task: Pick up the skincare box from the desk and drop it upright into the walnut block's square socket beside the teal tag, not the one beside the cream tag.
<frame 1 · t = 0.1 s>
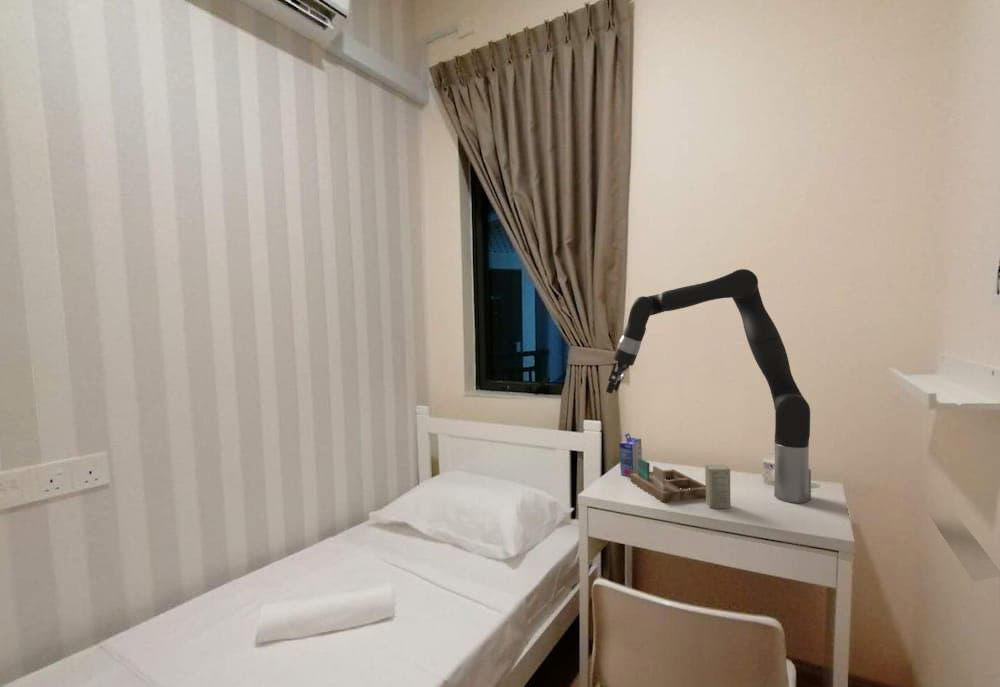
hand: (611, 391, 178), 31 cm above the table, tool tilted 20°, fingers open, 8 cm apart
skincare box: (717, 506, 149), on the table
ink cartridge box: (631, 473, 183), on the table
socket block: (676, 488, 165), on the table
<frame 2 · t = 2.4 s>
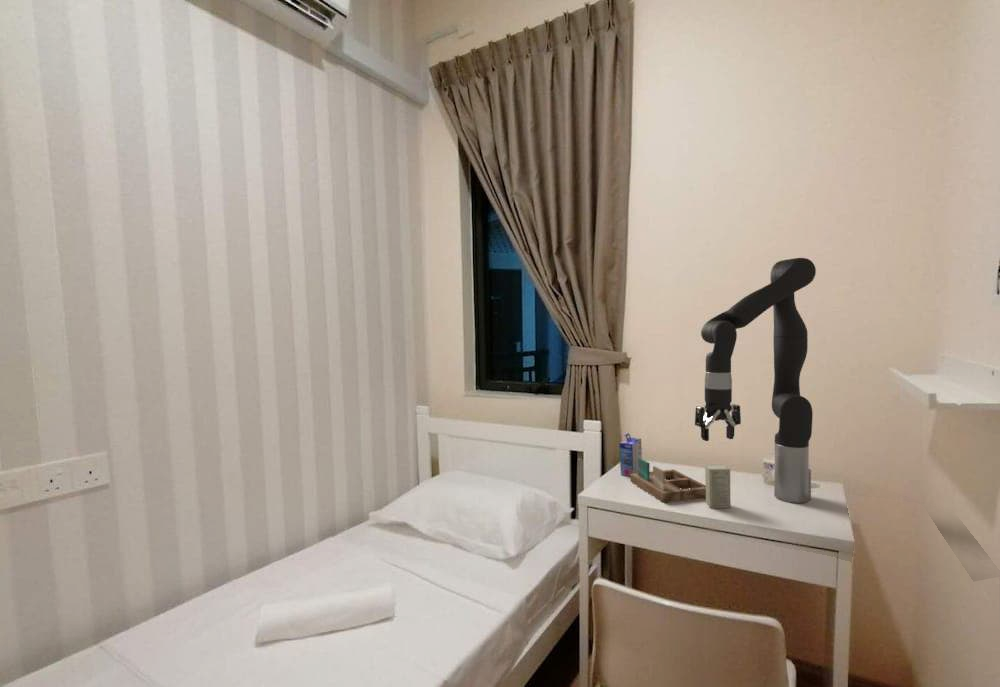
hand: (717, 439, 148), 20 cm above the table, tool pointing down, fingers open, 8 cm apart
nothing on the table moved.
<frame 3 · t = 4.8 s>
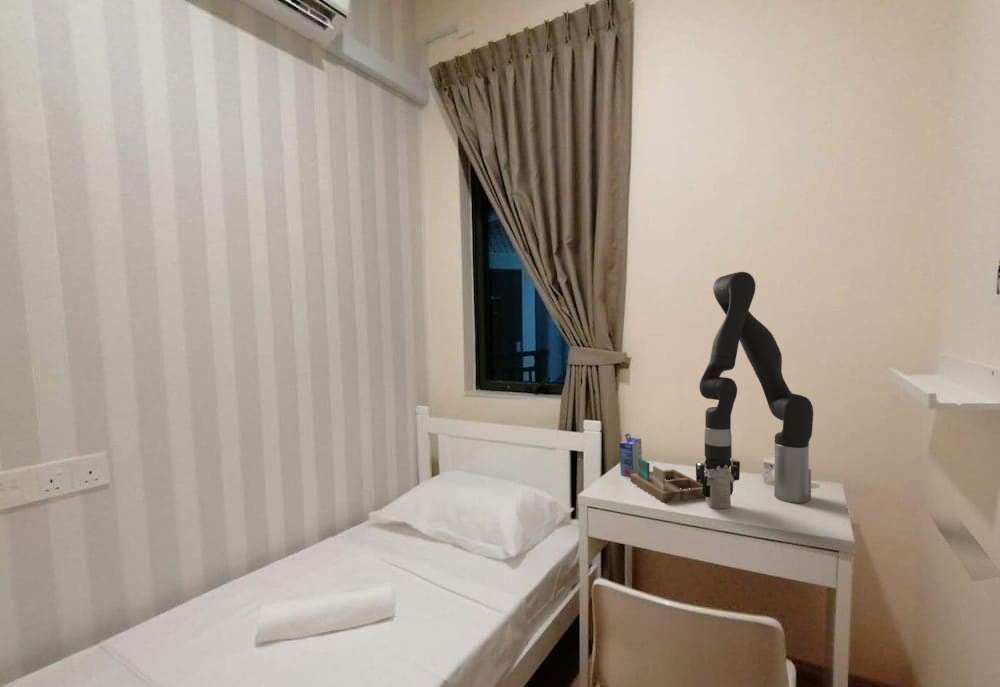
hand: (717, 495, 149), 3 cm above the table, tool pointing down, fingers closed on skincare box, 7 cm apart
skincare box: (717, 506, 149), on the table, touching gripper
everything else where it was.
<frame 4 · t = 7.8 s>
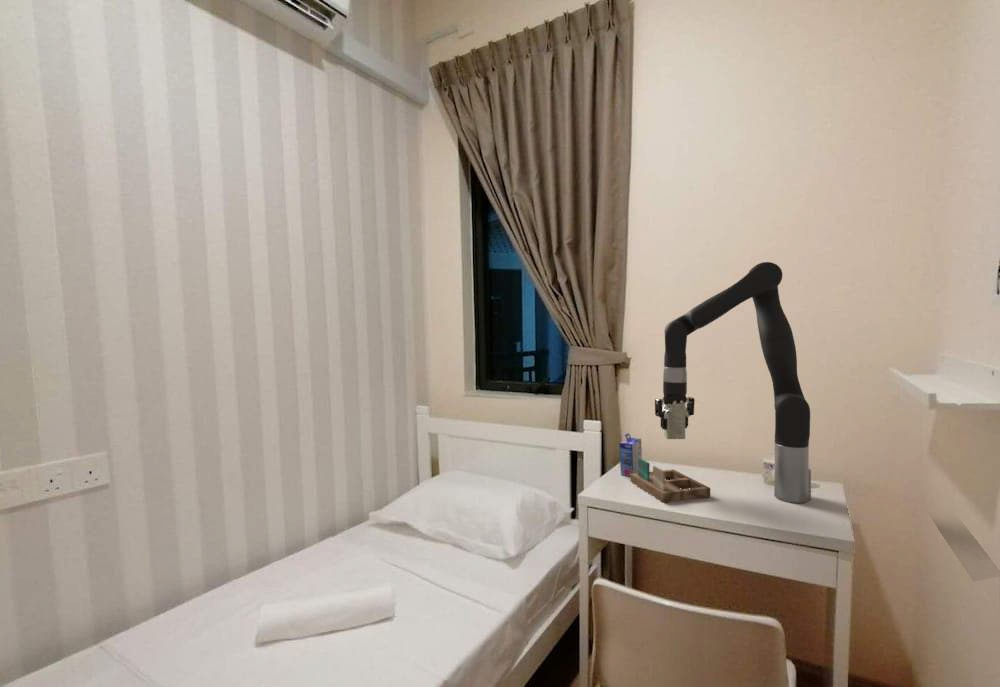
hand: (674, 428, 165), 20 cm above the table, tool pointing down, fingers closed on skincare box, 7 cm apart
skincare box: (674, 438, 166), point 17 cm above the table, touching gripper
everything else where it was.
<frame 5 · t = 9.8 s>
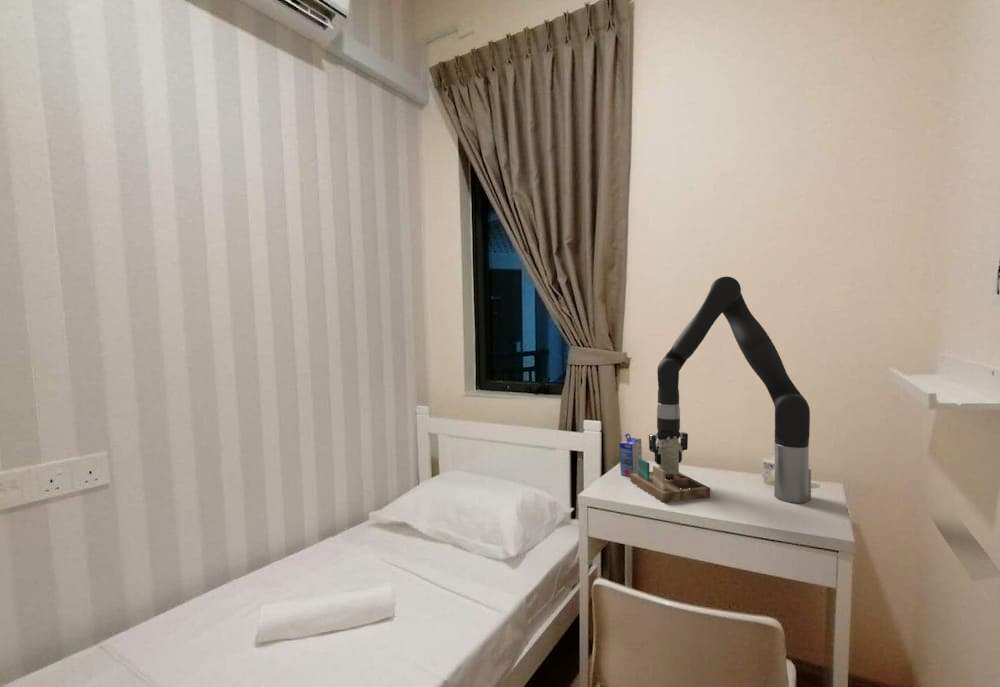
hand: (668, 463, 170), 7 cm above the table, tool pointing down, fingers closed on skincare box, 7 cm apart
skincare box: (668, 472, 170), point 4 cm above the table, touching gripper
everything else where it was.
when the fingers open (5 cm above the table, at t = 11.3 s): skincare box drops 1 cm, resting in socket block.
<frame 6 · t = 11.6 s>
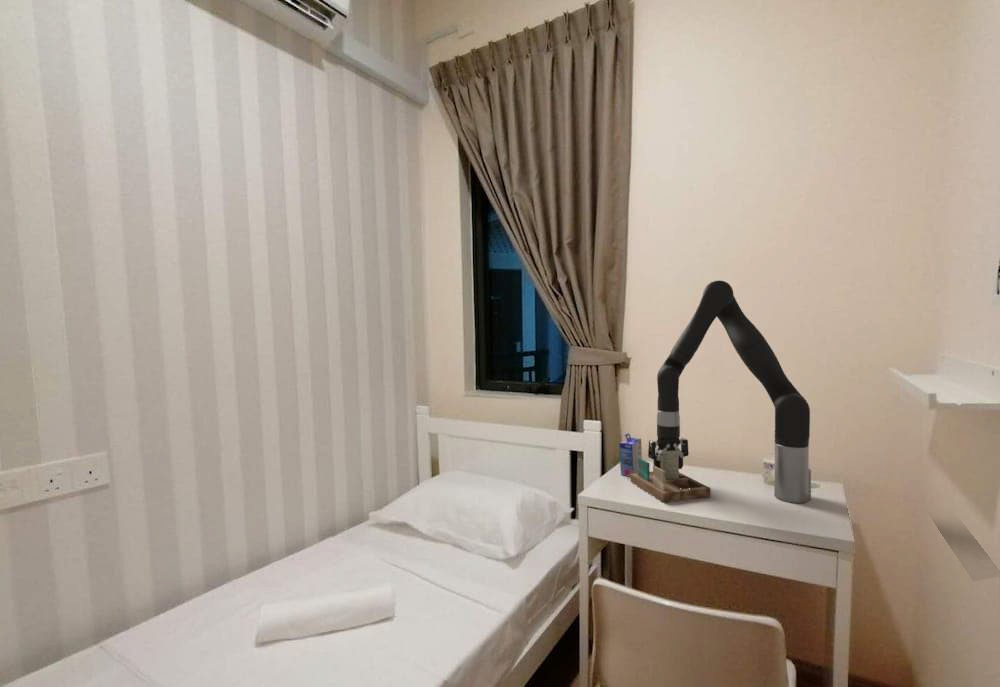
hand: (668, 469, 170), 5 cm above the table, tool pointing down, fingers open, 8 cm apart
skincare box: (668, 484, 170), resting in socket block
everything else where it was.
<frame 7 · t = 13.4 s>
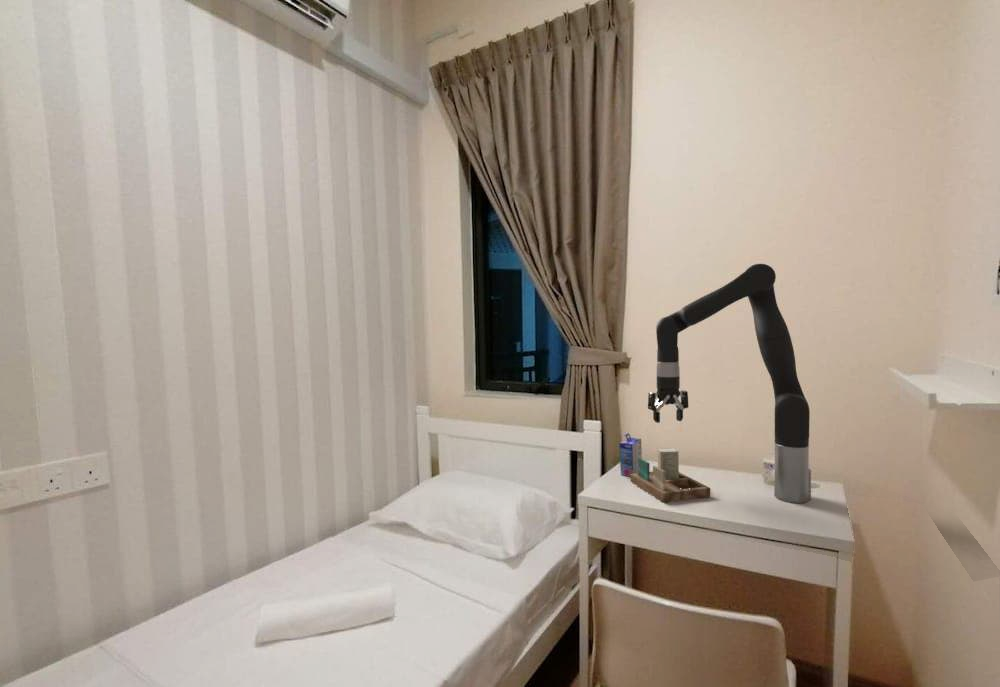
hand: (668, 421, 169), 22 cm above the table, tool pointing down, fingers open, 8 cm apart
nothing on the table moved.
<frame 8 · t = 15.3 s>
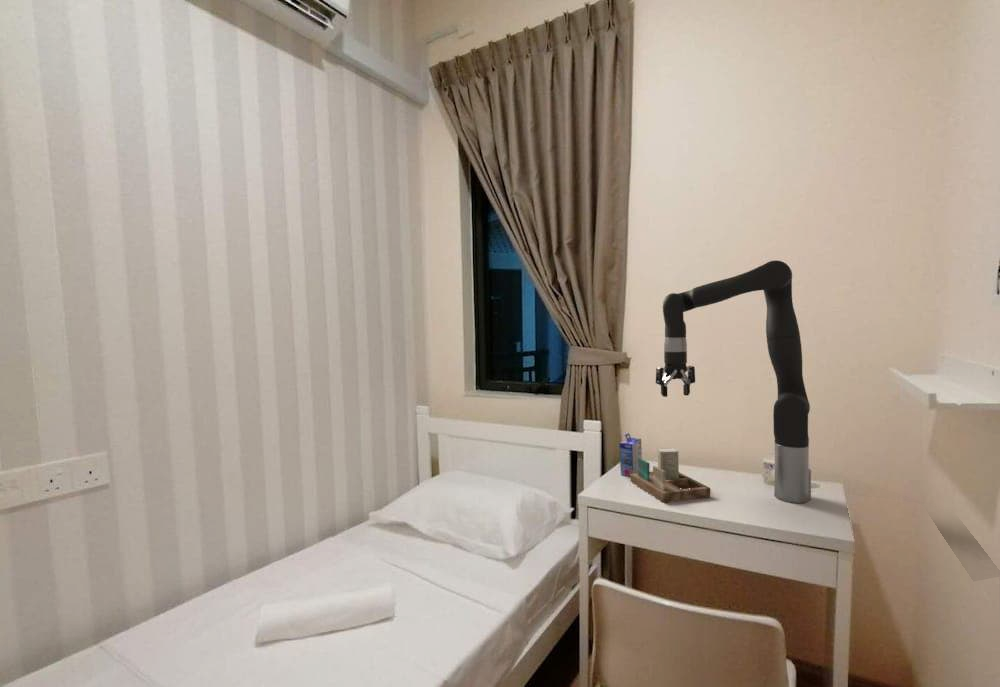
hand: (675, 395, 173), 30 cm above the table, tool pointing down, fingers open, 8 cm apart
nothing on the table moved.
at the end: skincare box 0.2 cm from the target spot on the socket block, point 0.0 cm above the socket block's base; skincare box tilted 0°; the gripper is holding nothing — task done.
